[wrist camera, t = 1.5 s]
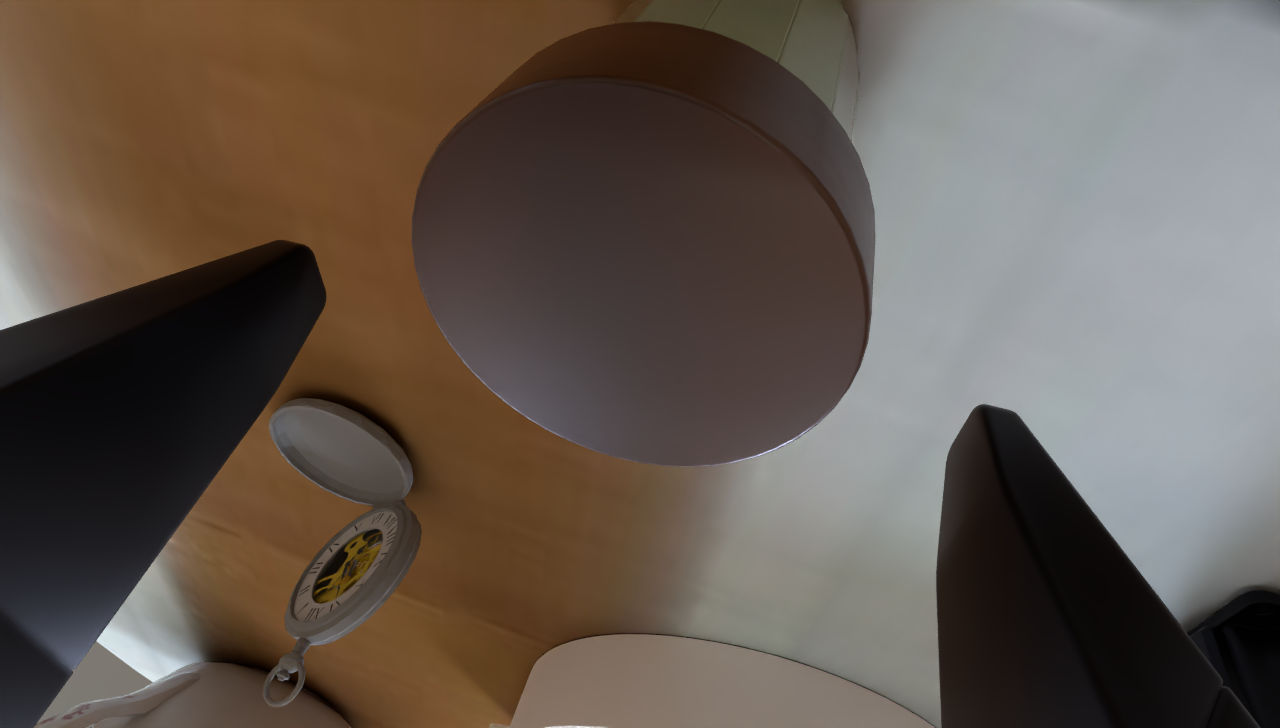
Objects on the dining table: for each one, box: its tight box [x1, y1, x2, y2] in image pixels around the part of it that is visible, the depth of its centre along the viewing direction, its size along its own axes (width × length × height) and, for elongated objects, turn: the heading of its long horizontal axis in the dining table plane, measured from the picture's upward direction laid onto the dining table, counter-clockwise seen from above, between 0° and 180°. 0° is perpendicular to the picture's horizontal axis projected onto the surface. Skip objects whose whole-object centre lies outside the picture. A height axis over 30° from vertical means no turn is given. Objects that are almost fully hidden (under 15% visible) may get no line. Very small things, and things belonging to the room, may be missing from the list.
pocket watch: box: [263, 398, 422, 707], centre depth 28 cm, size 8×8×10 cm
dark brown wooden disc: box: [412, 21, 875, 467], centre depth 10 cm, size 6×6×2 cm
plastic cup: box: [613, 0, 860, 142], centre depth 13 cm, size 5×5×7 cm
